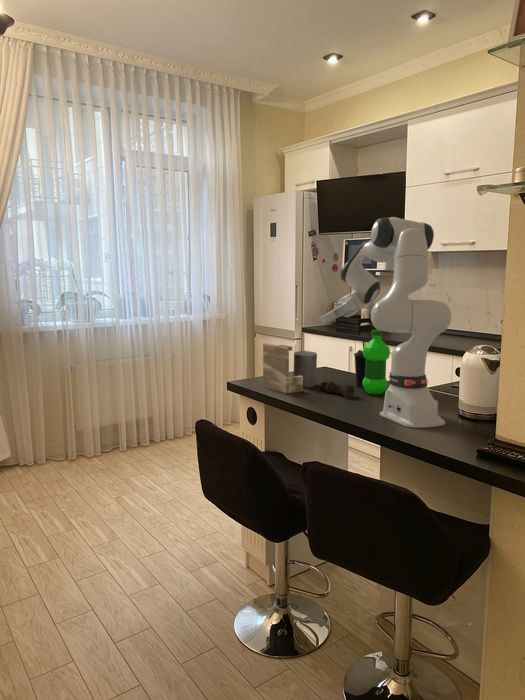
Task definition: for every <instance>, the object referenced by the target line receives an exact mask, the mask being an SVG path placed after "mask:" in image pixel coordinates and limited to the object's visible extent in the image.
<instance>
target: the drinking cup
mask: <svg viewBox="0 0 525 700" xmlns="http://www.w3.org/2000/svg"><path fill="white" fill-rule="evenodd" d="M365 341H366V339H365V338H362V348H363V347H364V346H365V345H366V344H365ZM353 356H354V369H355V381H356V382H355V384H356V387H357V388H361V387H363V379H364V378H365V368H366V358H365V357H364V356H363V350H360V351H357V352H355V353H354V354H353Z"/></svg>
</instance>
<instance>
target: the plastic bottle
mask: <svg viewBox="0 0 525 700" xmlns="http://www.w3.org/2000/svg"><path fill="white" fill-rule="evenodd" d="M383 332H384V331H381V330H377V329H372V330H371V336H372V339H370V340H369V341H367V343H366V344H365V346H364V347H363V346H362V351H363V356H364V357H365V358H366V368H365V378H364V379H363V387H364V388H363V389H364V390H365V391H366V392H367V394H368V393H369V394H368V395H371V394H375V395H374V396H377V395H376V394H380V395H382V394H383V393H385V392H386V390H387V389H388V388H389V382H388V381H387V378H386V376H387V375H386V374H387V360H388V359H389V358H390V354H391V349H390V346H388V344H386V343H385V342H384V341H383V340H382V336H383V334H384V333H383Z"/></svg>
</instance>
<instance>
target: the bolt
mask: <svg viewBox="0 0 525 700" xmlns="http://www.w3.org/2000/svg"><path fill="white" fill-rule="evenodd" d="M319 387H320V389H321V390H323V391H325V392H326V393H327V392H328V394H333V393H336V394H341V395H343V397H344V398H345V397H346V398H345V399H350V398H349V397H351V398H353V397H354V395H355V389H356V388H355V386H353V383H352V384H351V383H349V384H345V385H341V384H336V383H335V382H334V381H327V382H326V381H324V382H321V383H320V385H319ZM332 392H333V393H332Z"/></svg>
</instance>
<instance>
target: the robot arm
mask: <svg viewBox="0 0 525 700" xmlns="http://www.w3.org/2000/svg"><path fill="white" fill-rule="evenodd" d="M370 234H371V235H370V236H371V237H370V238H368V239H366V240H364V242H362V243H361V244H360V245H359V247H357V249H356V250H355V252H354V253H353V255H352V256H351V258H350V259H349V260H348V261H347V262H346V264H344V265H343V266H342V268H341V269H340V278H341V280H342V281H343V282H344V283H346V284H347V285H348V286H349V287H351V288H352V291H351V292H350V293H348V294H345V295H344V296H343V297H341V298H340V297H339V299H338V300H337V302H336V307H335V308H334V309H332V310H330V311H328V312H327V313H325V314H324V315H322V316H320V317H319V321H320V323H321V324H322V325H323V326H325V325H326V324H328V323H330V322H332V321H334V320H335V319H337V318H339V317H341V316H342V317H345V318H350V317H353V316H354V315H356V314H357V313H358V312H359V311H360V310H362V309H365V308H366V307H368V306H369V305H371V303H373V301H375V300H376V298H377V297H378V296H379V294H380V292H381V283H380V281H379V280H378V279H377V278H376V277H375V276H374V275H372V273H370V272H369V271H368V270H367V269H366V268H365V267H364V266H363V264H362V262H363V261H364V260H365V259H366V258H368V259H370V260H372V261H374V262H376V263H383V264H384V263H389V262H392V261H393V260H394V261H393V265H394V267H393V277H392V278H393V279H392V283H391V285H390V288H389V290H388V292H387V293H386V294H385V295H384V296H383V297H382V298H381V299H380V300H377V301H376V303H375V304H374V305H373V307H372V308H371V312H370V320H371V323H372V326H373V327H374V328H375V330H381V331H383V332H386V333H387V332H388V333H400V334H402V333H406V334H411V336H410V338H409V339H408V340H407V341H405V342H402V343H400V344H398V345H397V346H395V347H394V348H393V350H392V352H391V362H390V363H391V366H390V367H391V368H390V372H389V376H388V384H389V385H388V387H387V389H386V390H385V391H384V393H385V394H384V400H383V401H384V402H383V410H381V411H379V416H381V417H383V418H385V419H388V420H390V421H392V422H395V423H397V424H399V425H402V426H404V427H405V428H414V429H415V428H419V429H421V428H435V427H440V426H445V425H446V421H445V420H444V419H443V418H442V417H441V416H440V415H439V409H438V407H439V401H438V400H437V399H436V400H435V399H434V397H433V395H432V393H431V392H430V390H429V388H428V381H429V380H428V379H427V374H426V363H427V362H426V361H427V357H428V356H427V355H428V351H429V348H430V346H431V344H432V343H433V341H434V340H435V339H436V338H437V337H438V336H439V335H440V334H442V333H444V332H445V331H446V330H447V329H448V328H449V326H450V325H451V323H452V312H451V309H450V307H449V305H448V304H447V303H445V302H443V301H439V300H432V299H410V298H409V297H410V295H411V294H413V293H414V292H416V291H419V290H421V289H422V288H423V287H425V286H426V285H427V283H428V281H429V249H431V246H432V244H433V242H434V236H435V233H434V229H433V228H432V225H430V224H428V223H426V222H421V221H420V222H419V221H415V220H410V219H405V218H400V217H397V216H396V217H395V216H391V217H382V218H381V217H380V218H378V219H376V220H375V222H373V225H372V228H371V233H370Z"/></svg>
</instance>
